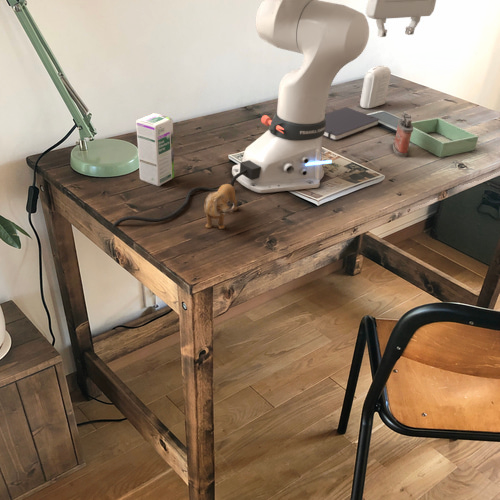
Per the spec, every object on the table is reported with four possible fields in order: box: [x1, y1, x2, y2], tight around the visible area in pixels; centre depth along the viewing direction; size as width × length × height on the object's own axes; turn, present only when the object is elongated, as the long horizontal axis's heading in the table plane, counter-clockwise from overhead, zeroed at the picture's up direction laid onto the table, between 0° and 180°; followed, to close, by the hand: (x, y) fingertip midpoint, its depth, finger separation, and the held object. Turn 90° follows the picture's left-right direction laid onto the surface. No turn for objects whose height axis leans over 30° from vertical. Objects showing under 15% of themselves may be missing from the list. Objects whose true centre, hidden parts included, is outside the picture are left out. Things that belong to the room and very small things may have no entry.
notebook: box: [323, 106, 380, 141], centre depth 167 cm, size 13×2×21 cm
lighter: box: [392, 111, 413, 158], centre depth 152 cm, size 8×3×10 cm, turn 0°
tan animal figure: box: [203, 183, 238, 230], centre depth 116 cm, size 15×5×9 cm, turn 171°
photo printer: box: [359, 65, 392, 110], centre depth 181 cm, size 10×4×12 cm, turn 134°
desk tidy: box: [409, 117, 479, 158], centre depth 160 cm, size 13×15×4 cm
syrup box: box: [135, 112, 175, 187], centre depth 128 cm, size 6×6×14 cm
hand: (395, 35), depth 149 cm, fingers open, 8 cm apart
